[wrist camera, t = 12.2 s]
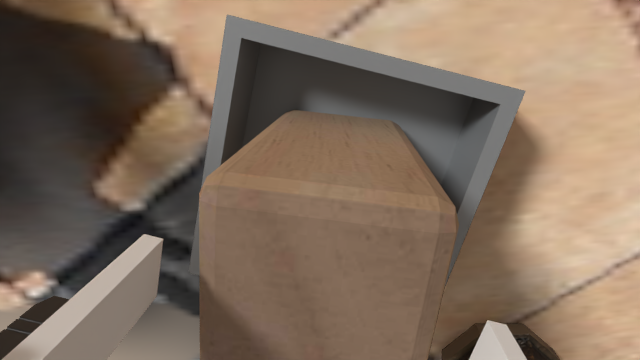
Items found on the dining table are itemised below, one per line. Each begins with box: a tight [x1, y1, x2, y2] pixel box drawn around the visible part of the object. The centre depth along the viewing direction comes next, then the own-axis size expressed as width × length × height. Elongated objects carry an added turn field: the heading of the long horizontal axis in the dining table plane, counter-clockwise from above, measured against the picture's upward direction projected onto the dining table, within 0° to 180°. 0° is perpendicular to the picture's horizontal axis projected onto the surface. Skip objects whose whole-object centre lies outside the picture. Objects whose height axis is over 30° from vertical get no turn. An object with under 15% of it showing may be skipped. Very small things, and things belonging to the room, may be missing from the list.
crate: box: [189, 15, 525, 286], centre depth 31 cm, size 20×20×7 cm
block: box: [199, 110, 459, 360], centre depth 24 cm, size 10×10×20 cm
